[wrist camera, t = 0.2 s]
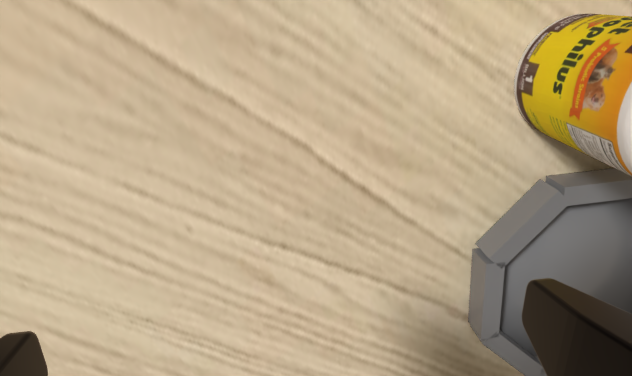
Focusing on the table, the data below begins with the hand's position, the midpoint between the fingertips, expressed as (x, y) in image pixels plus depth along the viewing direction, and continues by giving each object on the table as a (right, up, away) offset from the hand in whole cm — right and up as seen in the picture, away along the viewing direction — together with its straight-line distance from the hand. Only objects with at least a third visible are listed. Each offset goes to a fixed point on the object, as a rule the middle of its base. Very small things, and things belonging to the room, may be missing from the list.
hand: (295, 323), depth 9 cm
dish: (+15, -2, +19) cm, 24 cm away
